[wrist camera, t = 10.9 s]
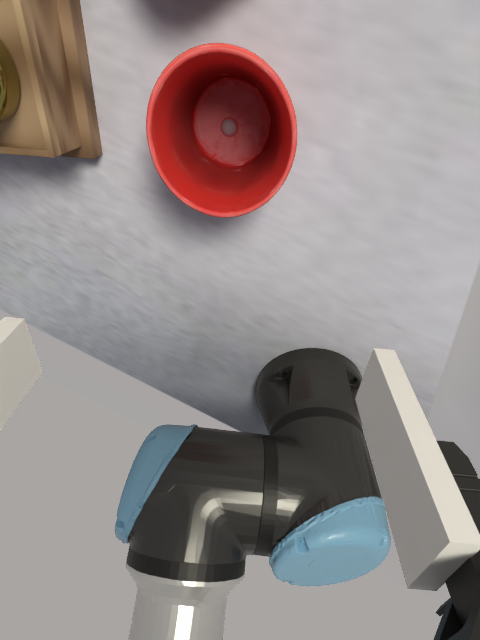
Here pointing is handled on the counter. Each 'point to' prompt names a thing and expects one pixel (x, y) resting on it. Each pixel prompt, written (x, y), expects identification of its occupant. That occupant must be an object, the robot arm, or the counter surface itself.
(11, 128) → the brown wooden square box
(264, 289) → the counter surface
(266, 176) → the flower pot
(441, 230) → the counter surface
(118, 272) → the counter surface
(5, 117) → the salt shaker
